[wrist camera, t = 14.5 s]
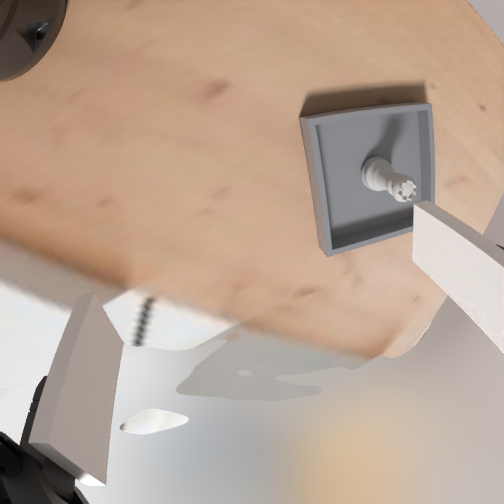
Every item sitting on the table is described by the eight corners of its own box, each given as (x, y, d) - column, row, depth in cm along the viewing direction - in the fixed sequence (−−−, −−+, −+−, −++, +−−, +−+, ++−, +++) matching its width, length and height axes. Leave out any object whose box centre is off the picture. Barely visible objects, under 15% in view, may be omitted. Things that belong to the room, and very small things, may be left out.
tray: (298, 116, 35) (307, 119, 32) (417, 101, 36) (431, 103, 33) (319, 246, 43) (327, 257, 41) (422, 216, 44) (433, 224, 42)
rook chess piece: (393, 164, 39) (429, 181, 32) (378, 193, 41) (412, 215, 34) (368, 149, 37) (403, 165, 30) (353, 180, 39) (386, 201, 32)
